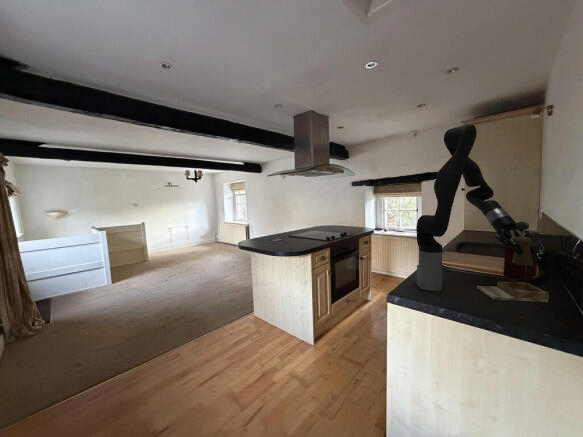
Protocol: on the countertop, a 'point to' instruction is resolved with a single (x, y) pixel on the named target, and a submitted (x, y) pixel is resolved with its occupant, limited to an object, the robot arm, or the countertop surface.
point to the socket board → (515, 292)
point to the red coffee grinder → (521, 271)
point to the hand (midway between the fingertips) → (527, 253)
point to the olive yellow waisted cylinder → (525, 246)
